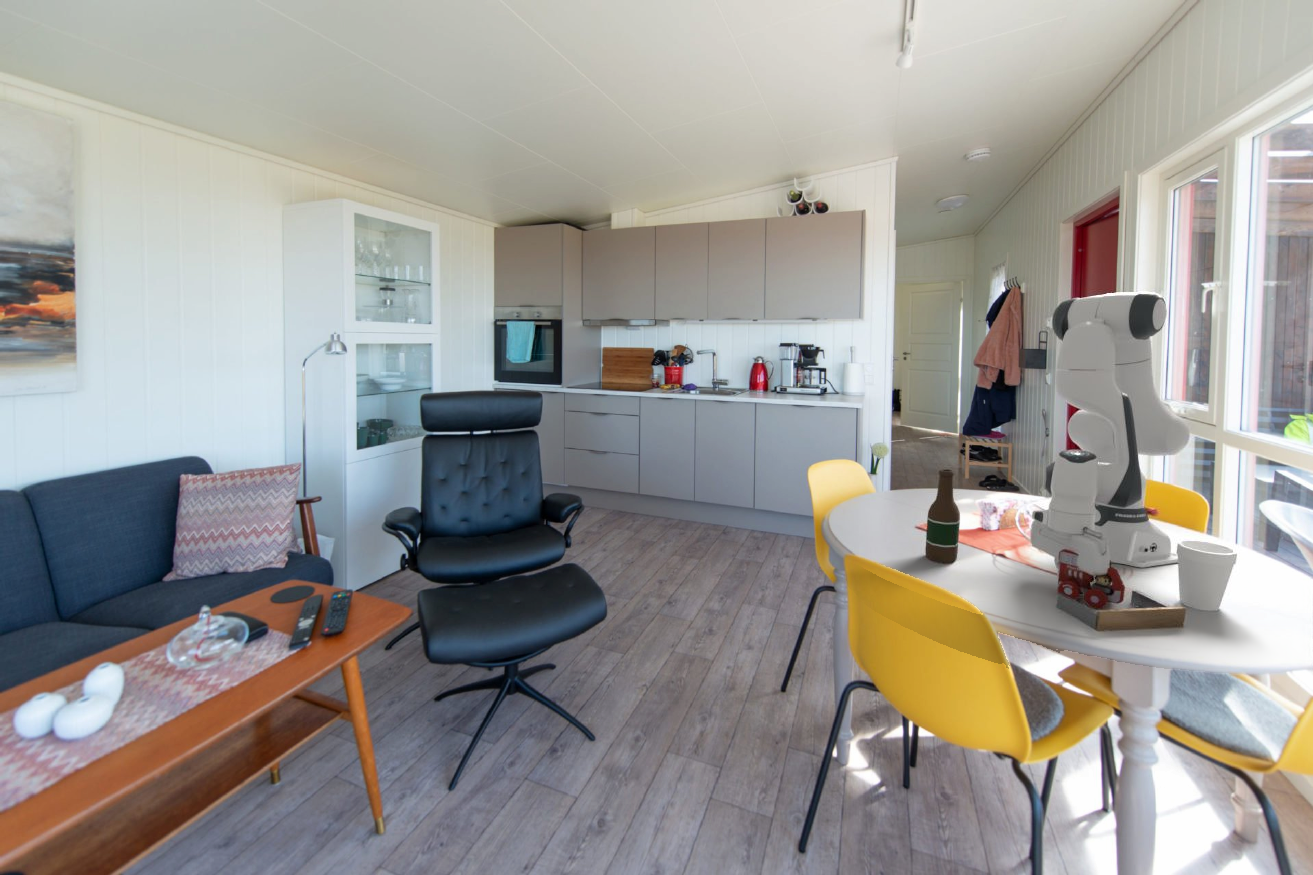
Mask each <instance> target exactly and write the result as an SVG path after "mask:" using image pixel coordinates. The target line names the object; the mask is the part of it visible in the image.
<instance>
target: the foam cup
mask: <svg viewBox="0 0 1313 875" xmlns="http://www.w3.org/2000/svg"><path fill="white" fill-rule="evenodd" d="M1176 554H1177V555H1178V562H1177V568H1178V569H1177V571H1178V572H1177V573H1178V590H1179V591H1178V592H1179V602H1180V603H1181V604H1183V605H1185V606H1187V607H1189V608H1192V609H1196V610H1202V611H1207V612H1208V611H1209V612H1215V611H1218V610H1219V608H1220V607H1221V603H1222V601H1223V598H1224V595H1225V592H1226V589H1227V586H1228V583H1229V580H1230V577H1231V575H1232V572H1233V568H1234V566H1235V565H1236V563H1237V559H1238V550H1236V549H1235V548H1234V547H1232V546H1231V547H1230V546H1227V545H1225V544H1221V543H1216V542H1213V541H1207V540H1197V539H1183V540H1178V542H1177V546H1176Z"/></svg>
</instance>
